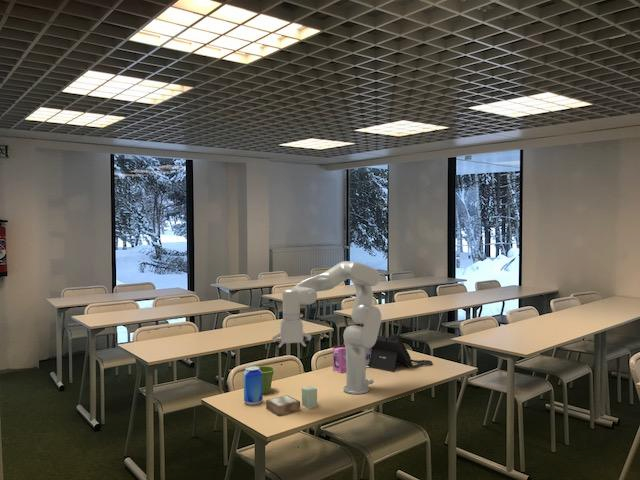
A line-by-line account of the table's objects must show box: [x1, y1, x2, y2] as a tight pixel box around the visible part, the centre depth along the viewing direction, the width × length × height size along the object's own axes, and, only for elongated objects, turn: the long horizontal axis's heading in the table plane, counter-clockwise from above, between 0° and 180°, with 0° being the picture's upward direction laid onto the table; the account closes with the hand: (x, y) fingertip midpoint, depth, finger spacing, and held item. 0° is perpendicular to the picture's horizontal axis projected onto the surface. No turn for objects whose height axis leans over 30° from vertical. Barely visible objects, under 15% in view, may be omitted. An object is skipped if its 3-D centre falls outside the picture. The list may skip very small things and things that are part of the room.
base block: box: [265, 394, 301, 417], centre depth 226 cm, size 11×11×4 cm
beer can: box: [243, 365, 264, 406], centre depth 237 cm, size 8×8×16 cm
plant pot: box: [258, 365, 276, 395], centre depth 252 cm, size 12×12×11 cm
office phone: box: [368, 333, 433, 373], centre depth 294 cm, size 29×28×20 cm
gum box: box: [332, 343, 372, 374], centre depth 290 cm, size 24×8×14 cm, turn 126°
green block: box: [301, 385, 318, 409], centre depth 230 cm, size 5×5×8 cm
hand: (292, 355), depth 227 cm, fingers open, 9 cm apart
